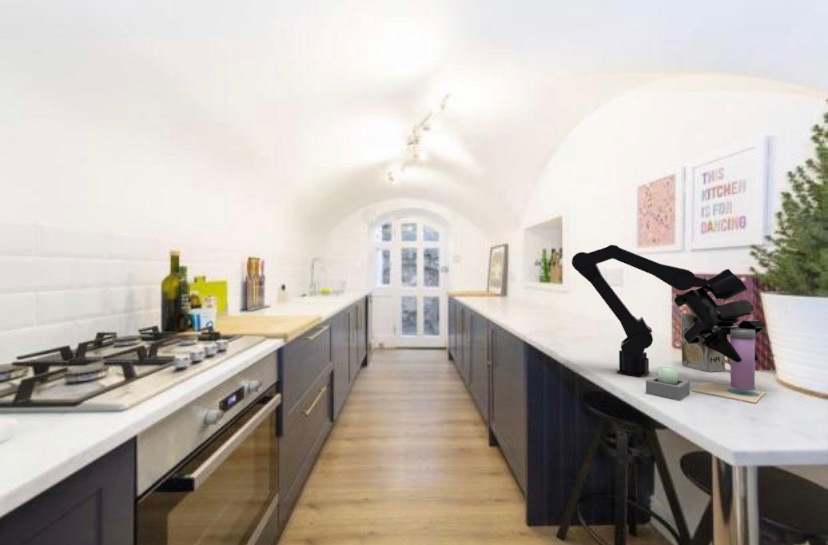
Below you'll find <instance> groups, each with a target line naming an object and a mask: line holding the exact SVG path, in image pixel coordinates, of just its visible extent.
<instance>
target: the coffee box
mask: <svg viewBox="0 0 828 545" xmlns="http://www.w3.org/2000/svg"><path fill="white" fill-rule="evenodd" d="M680 318H681V319H680V320H681V321H680V324H681V365H682V366H683V367H688V368H693V369H696V370H701V371H705V372H708V373H712V372H715V373H716V372H725V371H726V356H724V355H723V354H721V353H719V352H717V351H715V350H713V349H711V348H709V347H707V346H703V345H702V344H701V343H702V342H704V339H703V337H702V336H697V337H698V338H699V342H698V343H697V344H688V343H687V341H686V340H685V338H684V332H685V331H686V330H687V329H688V328H689V327H690V326H691V325H693V324H694V323H695V322H694V320H693V319H694V318H695V316H694V314H693V313H692V312H689V313H681V314H680ZM724 370H725V371H724Z"/></svg>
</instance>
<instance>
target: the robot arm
mask: <svg viewBox="0 0 828 545" xmlns="http://www.w3.org/2000/svg"><path fill="white" fill-rule="evenodd" d="M571 258H572V259H571V265H572V267H573V269H575V270H576V271H577V272H578V273H579V274H580V275H581V276H582V277H584V278H585V280H587V281H588V282H589V283H590V284H591V286H593V287H594V289H595V291H596V292H597V293H598V295H599V296H600V297H601V298H602V300H603V302H604V303H606V305H607V306H608V307H609V308H608V309H610V310H611V311H612V313H613V314H614V315H615V318H616V319H617V320H618V321H619V322H620V324H621V326H622V329H623V331H624V333H625V335H626V337H625V338H624V339H623V340H622V341H621V344H620V348H621V350H618V359H619V360H618V364H619V368H618V370H616V373H618V374H623V375H627V376H633V377H638V378H641V377H644V376H646V375H649V374H650V370H649V369H650V368H649V366H650V364H649V362H650V361H649V360H650V359H649V358H648V357H647V356H648V355H647V351H646V352H645V350H646V349H648V348H649V347H651V345H652V344H653V341H654V339H653V334H652V333H653V330H652V328H651V326H649V325H648V324H647V323H646V321H645V320H644V317H643V316H640V318H636V316H634V315H633V314H632V312H631V311H630V309H628V307H627V306H626V305H625V304H624V302H623V301H622V300H621V298H620V297H619V296H618V294H617V293H616V291H614V289H613V288H612V287H611V285H610V284H609V282H607V280H606V279H605V277H604V276H603V274H602V273H601V270H600V268H599V265H598V264H601V263H604V262H607V261H608V260H612V259H613V260H616V261H618V262H620V263H623V264H625V265H628V266H629V267H633V268H635V269H637V270H640V271H642V272H645V273H648V274H650V275H652V276H654V277H656V279H659V280H661V281H662V282H663V283H665V284H667V285H668V286H670V287H672V288H673V289H675V290H678V291H686V292H684V293H681V294H679V293H676V294H675V298H674V299H673V301H674V304H675V305H676V306H677V307H678V308H679V307H682V306H683V305H686V307H687V308H688V309H689V311H690V313H693V314H694V316H695V318H694V319H693V320H694V322H695V323H694V324H693V325H691V326H690V327H689V328H688V329H687V330H686V331H685V332H684V338H685V340H686V341H687V343H688V344H697V343H698V342H699V338H698V337H697V336H702V337H703V339H704V342H702V343H701V344H702V345H703V346H707V347H709V348H711V349H713V350H715V351H717V352H719V353H721V354H723V355H724V356H725V358H726V357H728V358H730V359H732V360H734V361H735V362H737V363H739V362H740V361H742V360H741V358H740V356H739V355H738V353H737V352H736V350H735V349H734V348H733V346H732V345H731V343H730V341H729V339H728V337H729V338H730V328H743V329H752V330H755V337H756V336H758V334H760V333H761V332H762V331H764V330H765V329H766V326H765V325H764V324H763V322H762V321H761V320H756V319H750V320H749V319H747V320H746V319H745V320H742V321H741V322H740V323H739V324H737V323H738V322H739V321H740V319H739V318H740V317H745V316H749V315H752V312H754V310H755V308H754V304H752V303H751V302H750V301H749V300H748V299H740V300H733V301H729V302H727V303H724V304H717V303H716V302H715V301H719V300H721V301H723V302H725V301H728V300H730V299H732V298H734V297H736V296H738V295H740V294H742V293H745V292H747V291H748V288H747V286H746V285H745V283H744V282H743V281H742V280H741V279H740V278H738V276H736V274H735V273H733V272H732V271H731V270H730V268H727V269H726V268H725V269H724V270H722V271H721V272H719V273H718V274H715V275H714V276H712V277H709V278H707V279H706V278H705V277H704V278H703V277H697V276H695V273H694V272H692V271H691V270H689V269H685V268H681V267H677V266H673V265H668V264H665V263H664V264H663V263H660V262H656V261H655V260H652V259H650V258H646V257H644V256H642V255H639V254H636V253H634V252H632V251H629V250H627V249H624V248H622V247H619V246H618V245H616V244H610V245H608V246H606V247H603V248H600V249H596V250H594V251H590V252H583V251H580V252H577V253H575V255H574V256H573V257H571ZM692 288H697V289H692ZM708 293H710V295H711V296H712V297H713V298H714V299H715V300H713V298H712V297H711V296H710V295H709V294H708ZM734 324H737V325H734ZM758 361H759V357H758V353H757V351H756V350H755V362H758Z"/></svg>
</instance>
